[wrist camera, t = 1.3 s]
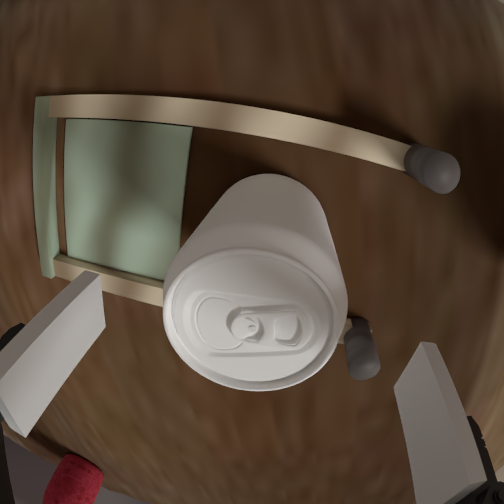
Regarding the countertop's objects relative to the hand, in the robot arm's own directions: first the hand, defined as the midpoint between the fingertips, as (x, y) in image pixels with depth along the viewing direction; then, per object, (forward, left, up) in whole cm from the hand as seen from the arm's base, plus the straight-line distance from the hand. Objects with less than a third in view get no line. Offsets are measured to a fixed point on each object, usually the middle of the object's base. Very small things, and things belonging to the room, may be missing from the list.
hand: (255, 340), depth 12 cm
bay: (-5, 0, -12) cm, 14 cm away
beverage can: (0, 0, -13) cm, 13 cm away
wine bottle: (-27, -58, -13) cm, 65 cm away
